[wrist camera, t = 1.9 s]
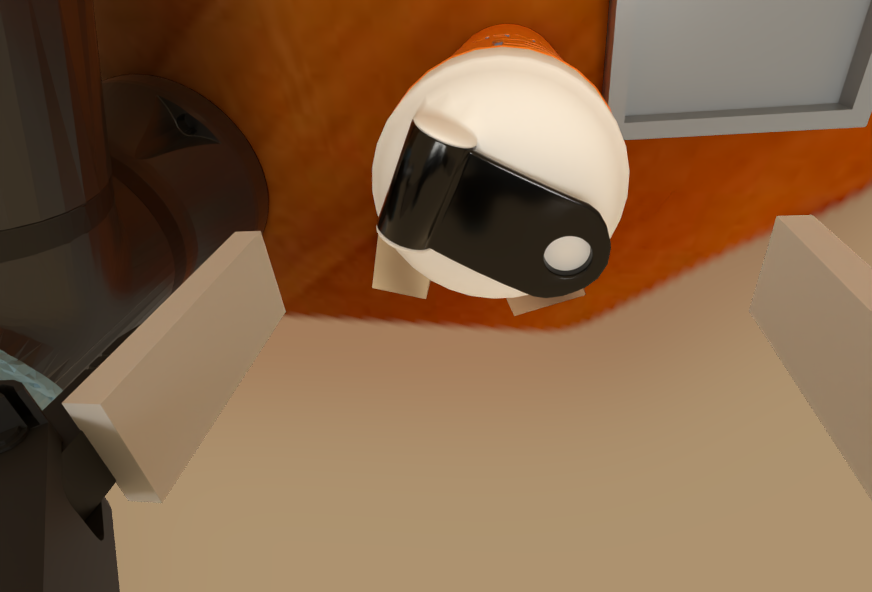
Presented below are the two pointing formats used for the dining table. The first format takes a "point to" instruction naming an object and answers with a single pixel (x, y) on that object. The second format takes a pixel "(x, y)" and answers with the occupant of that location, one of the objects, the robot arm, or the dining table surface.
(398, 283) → the oak block
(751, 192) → the dining table surface
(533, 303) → the walnut block
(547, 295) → the shaker bottle
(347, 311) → the dining table surface
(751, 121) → the tray
